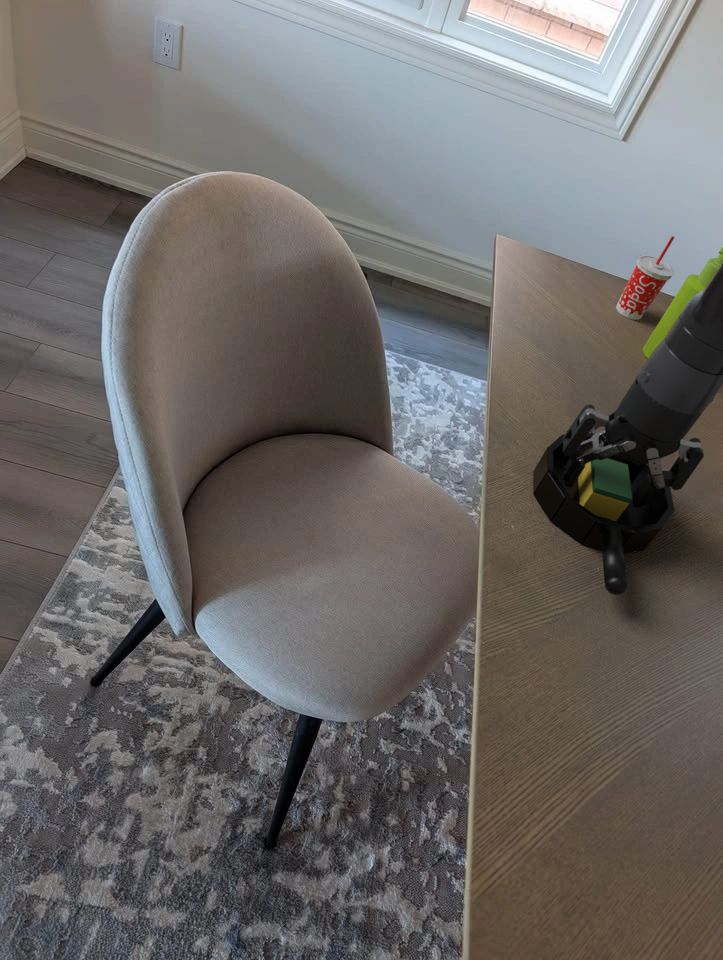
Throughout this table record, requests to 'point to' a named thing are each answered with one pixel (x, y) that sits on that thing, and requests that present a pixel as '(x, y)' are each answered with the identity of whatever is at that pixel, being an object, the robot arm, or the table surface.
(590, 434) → the pan
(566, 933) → the table surface
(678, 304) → the soap dispenser
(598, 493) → the sponge
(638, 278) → the beverage cup
